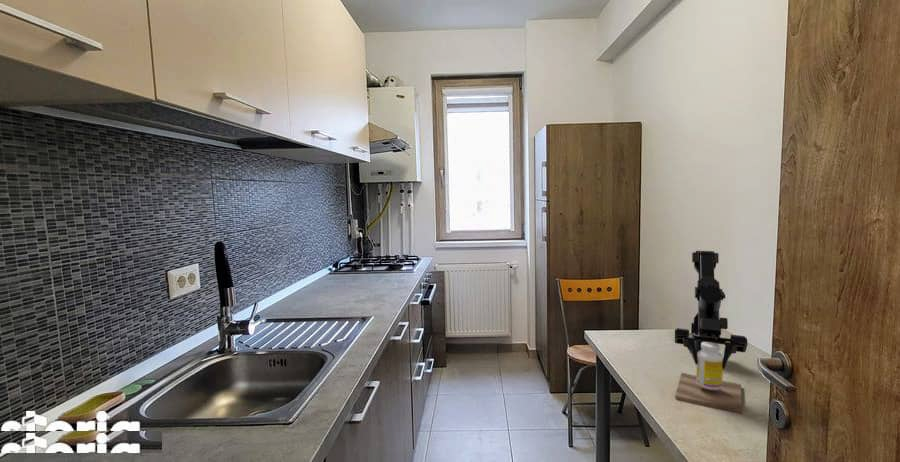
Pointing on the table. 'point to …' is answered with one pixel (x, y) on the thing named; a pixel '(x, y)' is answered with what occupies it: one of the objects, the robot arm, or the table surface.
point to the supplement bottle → (709, 366)
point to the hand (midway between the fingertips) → (709, 366)
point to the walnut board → (710, 394)
